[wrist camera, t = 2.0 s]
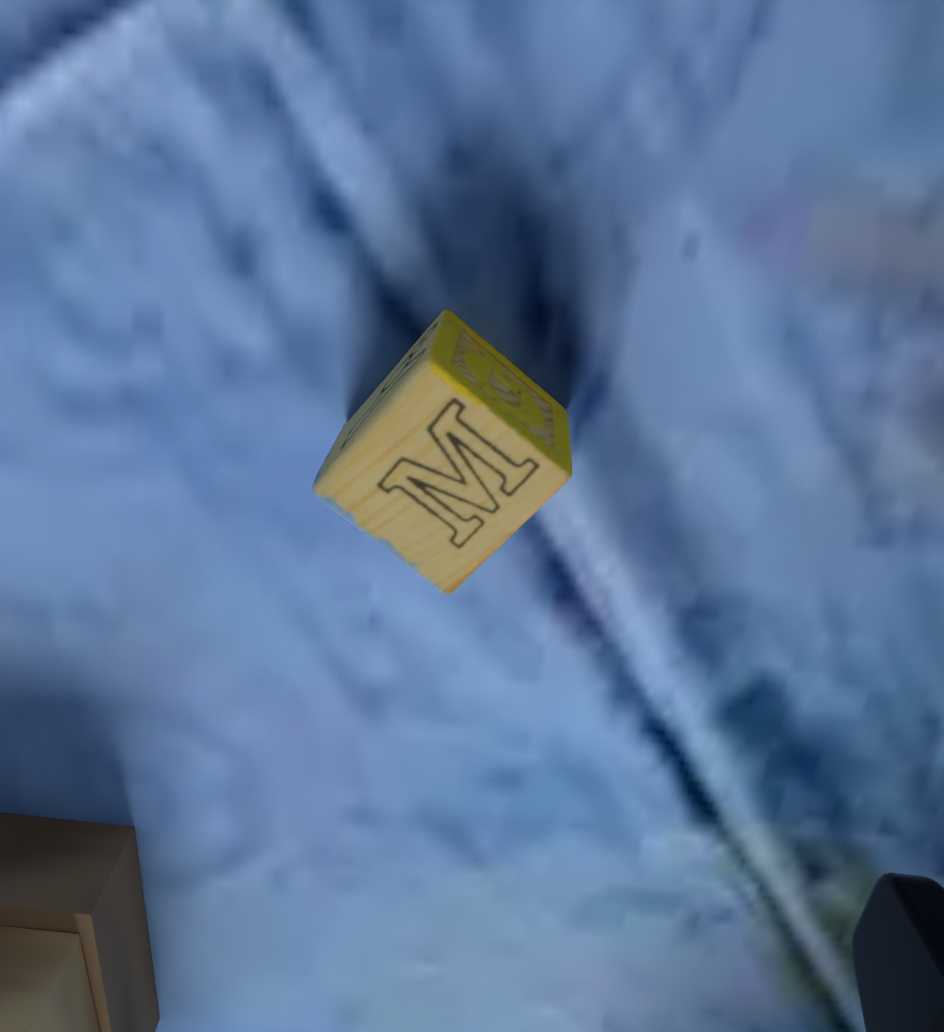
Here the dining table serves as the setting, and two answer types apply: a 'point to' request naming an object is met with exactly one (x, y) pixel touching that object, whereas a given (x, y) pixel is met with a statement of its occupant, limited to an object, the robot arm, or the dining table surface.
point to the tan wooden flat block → (84, 906)
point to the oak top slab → (44, 983)
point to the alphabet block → (447, 455)
